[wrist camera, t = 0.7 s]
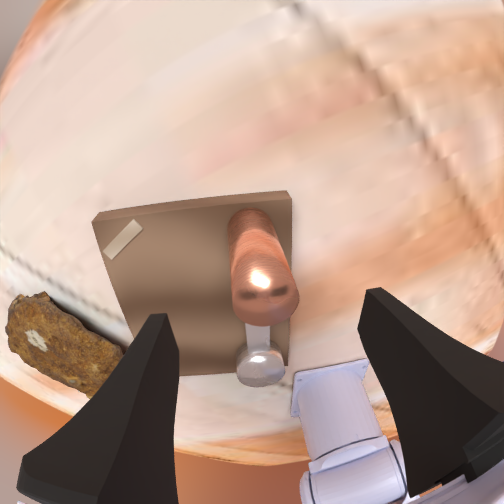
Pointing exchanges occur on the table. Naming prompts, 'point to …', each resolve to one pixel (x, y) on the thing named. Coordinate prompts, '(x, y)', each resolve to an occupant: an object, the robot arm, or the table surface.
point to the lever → (259, 294)
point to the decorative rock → (59, 344)
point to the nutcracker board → (188, 272)
